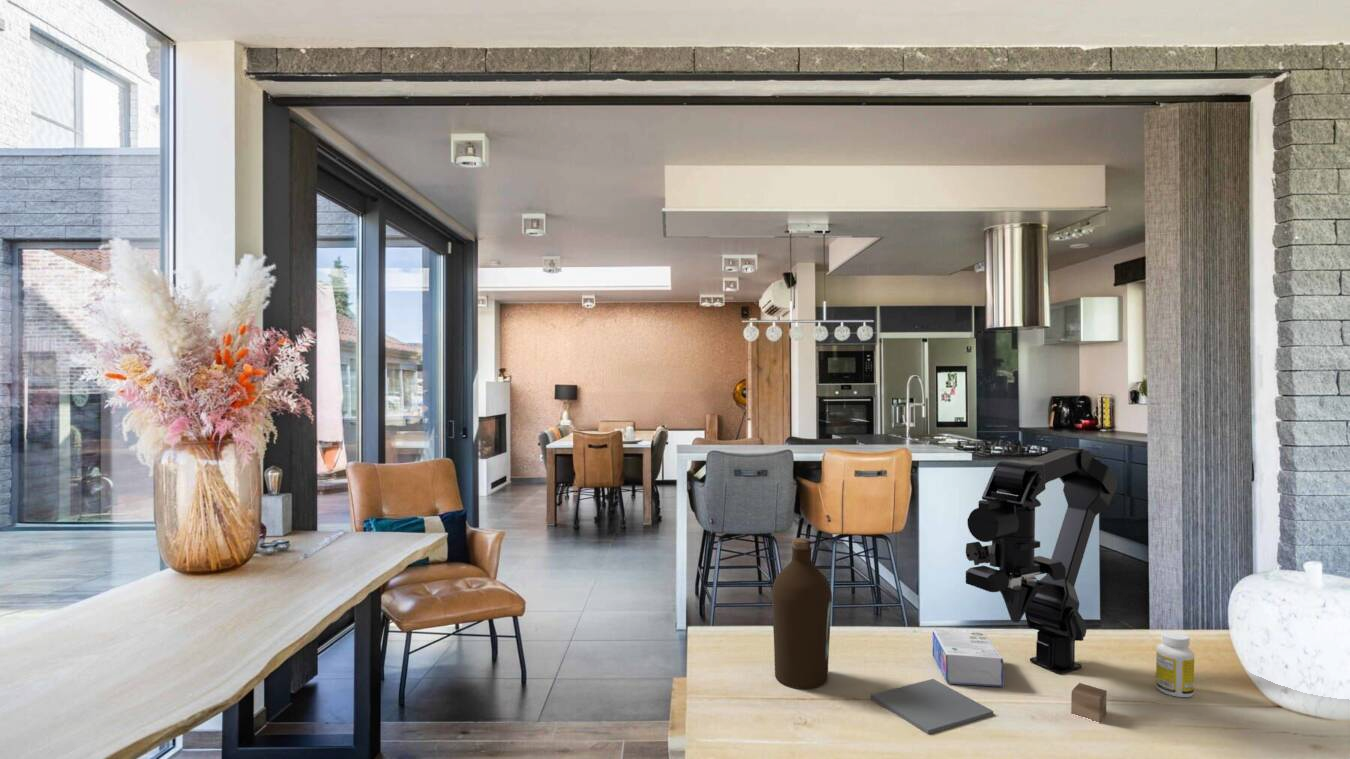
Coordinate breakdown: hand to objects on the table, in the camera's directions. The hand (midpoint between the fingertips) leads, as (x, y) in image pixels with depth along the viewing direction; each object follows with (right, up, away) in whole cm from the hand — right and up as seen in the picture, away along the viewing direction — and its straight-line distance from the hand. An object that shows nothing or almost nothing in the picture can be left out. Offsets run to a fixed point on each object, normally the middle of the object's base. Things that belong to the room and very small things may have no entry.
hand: (1015, 621), depth 129 cm
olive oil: (-37, -11, +3) cm, 39 cm away
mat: (-18, -11, -8) cm, 22 cm away
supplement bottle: (+26, -11, -3) cm, 29 cm away
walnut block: (+7, -12, -11) cm, 17 cm away
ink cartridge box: (-8, -9, -1) cm, 11 cm away
